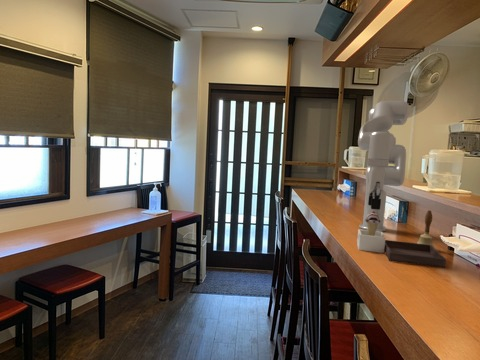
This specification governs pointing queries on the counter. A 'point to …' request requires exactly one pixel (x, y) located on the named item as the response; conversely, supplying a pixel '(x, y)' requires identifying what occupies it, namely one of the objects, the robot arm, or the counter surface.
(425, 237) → the hand bell
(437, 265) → the tray
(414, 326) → the counter surface
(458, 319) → the counter surface
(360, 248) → the frame
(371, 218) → the ice cream cone
